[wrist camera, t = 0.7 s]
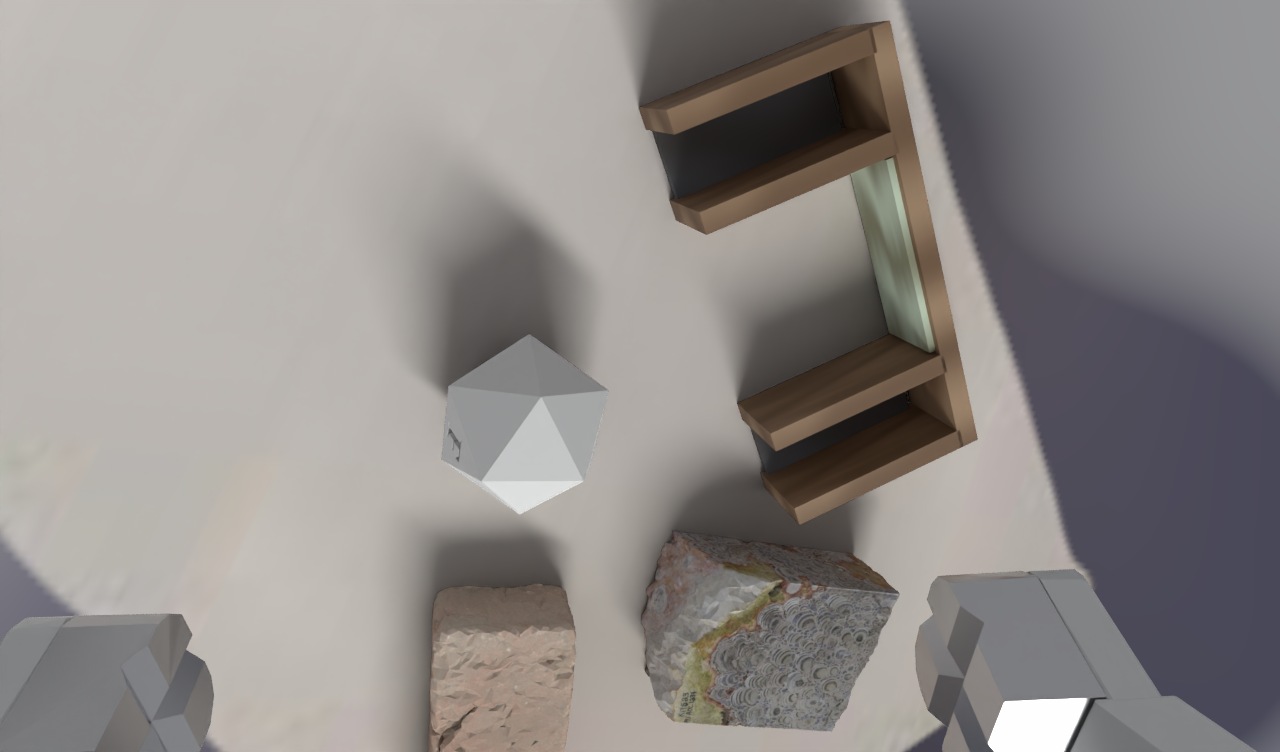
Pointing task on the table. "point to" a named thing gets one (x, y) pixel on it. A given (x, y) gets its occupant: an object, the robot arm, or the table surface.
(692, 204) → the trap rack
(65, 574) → the table surface
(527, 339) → the die
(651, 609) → the geological specimen
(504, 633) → the brick
